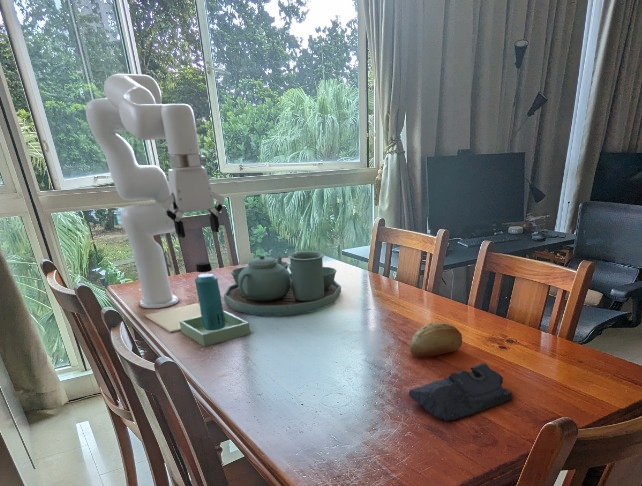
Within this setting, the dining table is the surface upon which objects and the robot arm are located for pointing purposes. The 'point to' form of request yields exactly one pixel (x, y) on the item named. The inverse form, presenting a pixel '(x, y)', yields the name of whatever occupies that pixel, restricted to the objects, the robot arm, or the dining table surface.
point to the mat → (175, 316)
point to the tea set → (283, 285)
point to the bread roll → (435, 340)
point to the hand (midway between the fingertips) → (198, 234)
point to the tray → (208, 337)
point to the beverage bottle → (209, 298)
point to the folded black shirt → (462, 393)
